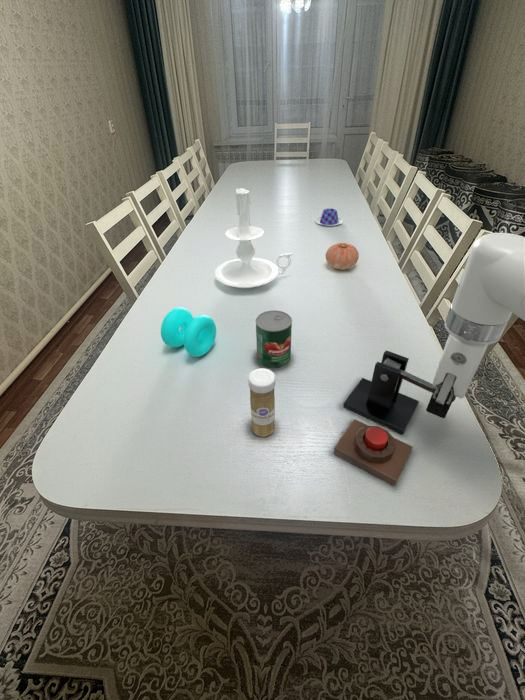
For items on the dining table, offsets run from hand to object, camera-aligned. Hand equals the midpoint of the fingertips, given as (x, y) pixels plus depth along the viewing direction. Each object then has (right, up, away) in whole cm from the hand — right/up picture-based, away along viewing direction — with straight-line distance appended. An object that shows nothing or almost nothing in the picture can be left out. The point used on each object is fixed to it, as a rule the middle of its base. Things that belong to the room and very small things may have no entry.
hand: (438, 406), depth 64 cm
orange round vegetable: (-5, +38, +58) cm, 70 cm away
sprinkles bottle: (-31, -5, +5) cm, 32 cm away
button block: (-12, -8, 0) cm, 15 cm away
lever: (-4, +3, +1) cm, 5 cm away
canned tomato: (-29, +8, +21) cm, 36 cm away
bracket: (-8, -1, +8) cm, 11 cm away
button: (-12, -6, -2) cm, 14 cm away
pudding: (-2, +65, +92) cm, 113 cm away
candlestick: (-34, +32, +52) cm, 70 cm away
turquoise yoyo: (-49, +10, +25) cm, 56 cm away
